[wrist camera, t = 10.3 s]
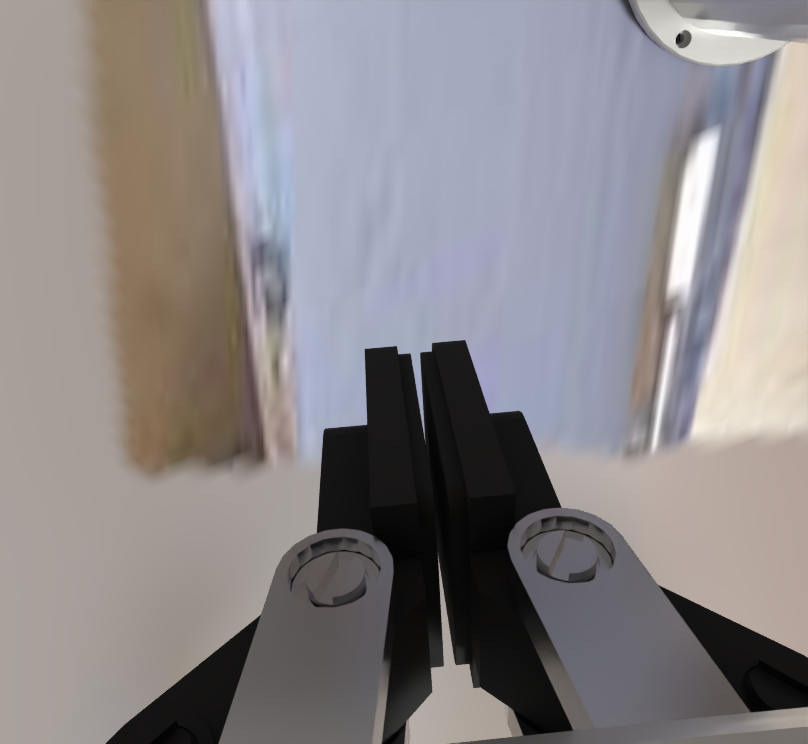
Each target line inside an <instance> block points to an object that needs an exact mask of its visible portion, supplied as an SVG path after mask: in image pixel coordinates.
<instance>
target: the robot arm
mask: <svg viewBox="0 0 808 744" xmlns="http://www.w3.org/2000/svg"><path fill="white" fill-rule="evenodd" d="M628 1H629V3H630V5H631V8H632V10H633V12H634V15H635V17H636V19H637V21H638V22H639V24H640V25H641V26H642V28H643V29H644V31H645V32H646V34H647V35H648V36H649V37H650V38H651V39H652V40H653V41H654V42H655V43H656V44H657V45H659V46H660V47H661V48H662V49H663V50H665V51H666V52H668V53H670V54H672V55H674V56H676V57H678V58H679V59H682V60H685V61H689V62H693V63H696V64H702V65H710V66H729V65H739V64H742V63H746V62H750V61H753V60H757V59H760V58H762V57H764V56H766V55H768V54H770V53H772V52H774V51H776V50H778V49H780V48H782V47H783V46H785V45H786V44H788V43H789V42H798V43H808V0H628ZM678 34H680V37H681V38H680V41H679V42H678V43H676V41H675V39H676V37H677V35H678ZM420 359H421V376H422V393H423V410H424V426H425V439H424V433H423V427H422V421H421V414H420V408H419V402H418V396H417V390H416V384H415V378H414V372H413V366H412V360H411V354H399V355H398V350H397V346H394V347H383V348H371V349H365V370H366V398H367V425H361V426H350V427H339V428H328V429H325V430H324V434H323V448H322V463H321V478H320V493H319V509H318V524H317V533H316V534H313V535H311V536H308V537H307V538H305V539H303V540H301V541H300V542H298V543H296V544H295V545H294V546H293V547H292V548H291V549H290V550H289V551H288V552H287V553H286V554H285V555H284V556H283V557H282V559H281V561H280V563H279V565H278V567H277V568H276V571H275V574H274V577H273V580H272V583H271V586H270V589H269V592H268V595H267V598H266V601H265V604H264V608H263V611H262V614H261V615H260V616H259V617H258V618H256V619H255V620H254V621H253V622H251V623H250V624H249V625H248V626H246V627H245V628H244V629H243V630H241V631H240V632H239V633H238V634H237V635H235V636H234V637H233V638H231V639H230V640H229V641H228V642H227V643H225V644H224V645H223V646H222V647H220V648H219V649H218V650H217V651H215V652H214V653H213V654H212V655H210V656H209V657H208V658H207V659H206V660H204V661H203V662H202V663H200V664H199V665H198V666H197V667H196V668H194V669H193V670H192V671H191V672H189V673H188V674H187V675H186V676H184V677H183V678H182V679H181V680H180V681H178V682H177V683H176V684H175V685H174V686H172V687H171V688H170V689H168V690H167V691H166V692H165V693H163V694H162V695H161V696H160V697H159V698H157V699H156V700H155V701H153V702H152V703H151V704H150V705H148V706H147V707H146V708H145V709H143V710H142V711H141V712H140V713H139V714H137V715H136V716H135V717H134V718H132V719H131V720H130V721H129V722H127V723H126V724H125V725H124V726H123V727H122V728H121V729H120V730H119V731H118V732H117V733H116V734H115V735H114V736H113V737H112V738H111V739H110V740H109V741H108V742H107V743H106V744H409V740H410V730H409V718H410V716H411V715H412V714H413V713H414V712H415V711H416V710H417V708H418V707H419V706H420V705H421V704H422V703H423V702H424V701H425V699H426V698H427V697H428V696H429V695H430V694H431V693H432V680H431V668H432V667H441V666H444V662H443V642H442V623H441V605H440V587H439V569H438V556H439V563H440V570H441V576H442V583H443V589H444V596H445V602H446V608H447V615H448V621H449V628H450V634H451V641H452V647H453V654H454V659H455V664H456V665H462V664H470V671H471V676H472V682H473V687H474V688H479V687H481V688H482V689H484V690H485V691H487V692H488V693H490V694H491V695H493V696H494V697H496V698H497V699H498V700H500V701H501V702H503V703H504V704H505V713H506V718H507V722H508V726H509V728H510V731H511V734H512V736H513V737H508V738H499V739H489V740H480V741H470V742H461V743H452V744H808V658H807V657H806V656H804V655H802V654H800V653H798V652H796V651H794V650H792V649H790V648H788V647H786V646H783V645H781V644H779V643H777V642H775V641H773V640H771V639H769V638H767V637H765V636H763V635H761V634H759V633H756V632H754V631H752V630H750V629H748V628H746V627H744V626H742V625H740V624H738V623H736V622H733V621H732V620H730V619H727V618H725V617H723V616H721V615H719V614H717V613H715V612H713V611H711V610H709V609H707V608H704V607H703V606H701V605H698V604H696V603H694V602H692V601H690V600H688V599H686V598H684V597H682V596H680V595H678V594H676V593H674V592H671V591H669V590H667V589H665V588H663V587H661V586H659V585H658V584H657V583H656V582H655V580H654V579H653V578H652V576H651V575H650V573H649V572H648V571H647V569H646V568H645V567H644V565H643V564H642V562H641V561H640V560H639V558H638V557H637V556H636V554H635V553H634V551H633V550H632V549H631V547H630V546H629V545H628V543H627V542H626V540H625V539H624V538H623V536H622V535H621V534H620V533H619V532H618V531H617V530H616V529H615V528H614V527H613V526H612V525H611V524H609V523H607V522H606V521H604V520H602V519H601V518H599V517H597V516H596V515H593V514H590V513H587V512H584V511H581V510H577V509H567V508H561V505H560V503H559V501H558V498H557V496H556V493H555V491H554V489H553V486H552V484H551V481H550V479H549V476H548V474H547V471H546V469H545V466H544V464H543V462H542V459H541V457H540V454H539V452H538V449H537V447H536V445H535V442H534V440H533V437H532V435H531V432H530V430H529V428H528V425H527V423H526V420H525V418H524V416H523V414H522V412H520V411H513V412H502V413H491V414H489V411H488V408H487V405H486V402H485V399H484V396H483V393H482V390H481V387H480V383H479V380H478V377H477V374H476V371H475V368H474V365H473V362H472V359H471V356H470V353H469V350H468V347H467V344H466V342H465V340H461V341H450V342H439V343H432V352H422V353H420ZM425 443H426V445H425Z"/></svg>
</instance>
